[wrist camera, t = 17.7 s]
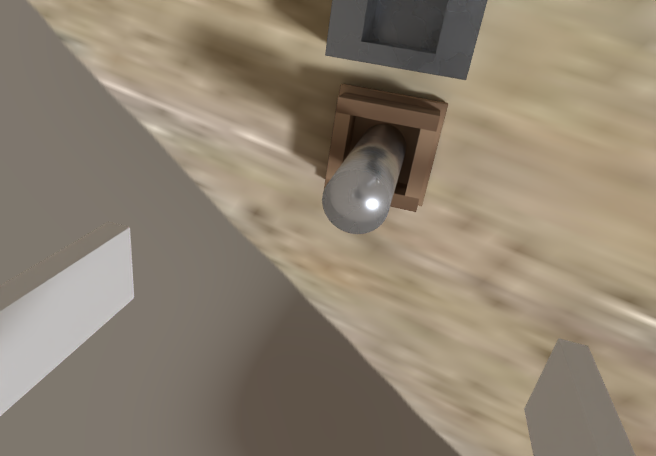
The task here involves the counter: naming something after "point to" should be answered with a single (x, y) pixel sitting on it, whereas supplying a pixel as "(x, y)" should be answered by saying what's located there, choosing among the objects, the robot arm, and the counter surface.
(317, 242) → the counter surface
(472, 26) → the chuck block
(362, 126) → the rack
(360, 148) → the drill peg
